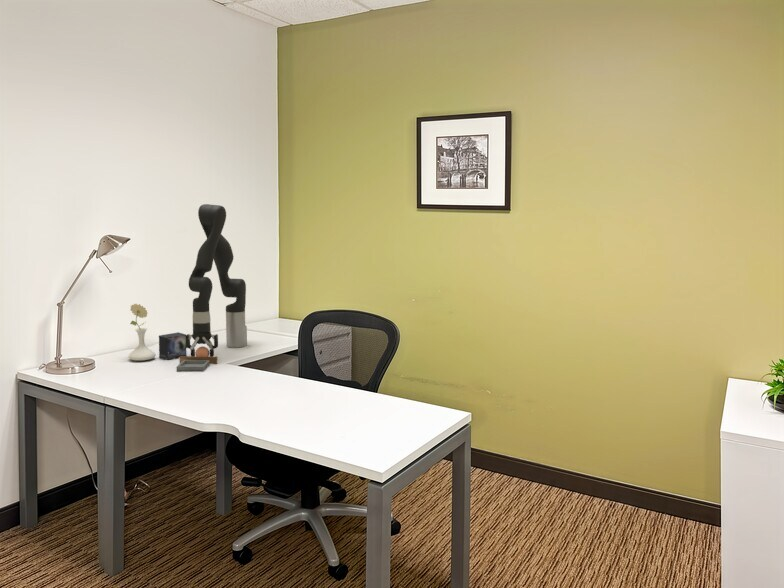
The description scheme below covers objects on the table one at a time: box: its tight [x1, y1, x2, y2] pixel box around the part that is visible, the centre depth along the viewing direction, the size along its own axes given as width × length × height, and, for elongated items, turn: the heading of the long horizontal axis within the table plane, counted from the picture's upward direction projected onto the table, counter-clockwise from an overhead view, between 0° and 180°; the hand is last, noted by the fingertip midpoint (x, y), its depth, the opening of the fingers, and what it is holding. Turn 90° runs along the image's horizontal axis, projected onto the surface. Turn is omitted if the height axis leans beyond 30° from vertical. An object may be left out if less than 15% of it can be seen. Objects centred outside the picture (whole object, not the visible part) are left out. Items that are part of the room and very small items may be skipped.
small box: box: [158, 331, 187, 361], centre depth 290 cm, size 11×6×10 cm, turn 143°
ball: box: [195, 346, 210, 357], centre depth 286 cm, size 6×6×6 cm
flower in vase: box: [128, 303, 157, 362], centre depth 284 cm, size 13×11×25 cm
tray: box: [175, 360, 211, 372], centre depth 271 cm, size 11×11×2 cm
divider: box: [179, 355, 218, 365], centre depth 279 cm, size 1×16×3 cm, turn 92°
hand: (202, 357), depth 286 cm, fingers open, 7 cm apart
